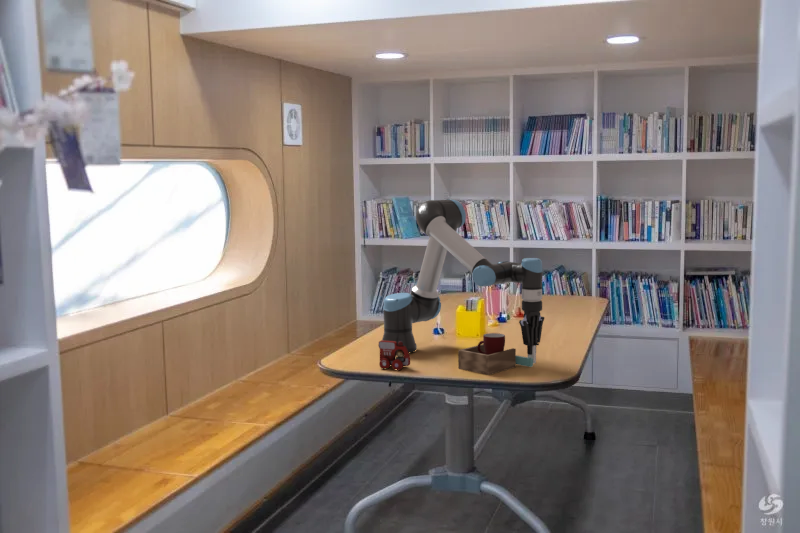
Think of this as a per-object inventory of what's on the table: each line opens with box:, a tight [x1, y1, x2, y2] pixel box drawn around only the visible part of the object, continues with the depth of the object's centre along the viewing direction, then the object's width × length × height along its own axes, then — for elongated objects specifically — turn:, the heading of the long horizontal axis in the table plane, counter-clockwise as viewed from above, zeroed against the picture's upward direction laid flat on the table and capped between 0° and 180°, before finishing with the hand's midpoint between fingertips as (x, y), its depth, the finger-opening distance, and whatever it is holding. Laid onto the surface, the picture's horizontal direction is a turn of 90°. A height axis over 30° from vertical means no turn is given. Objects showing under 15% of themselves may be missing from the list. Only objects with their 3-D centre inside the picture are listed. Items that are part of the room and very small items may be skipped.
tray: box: [516, 354, 534, 368], centre depth 298 cm, size 20×16×3 cm
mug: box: [476, 332, 506, 355], centre depth 299 cm, size 10×8×10 cm
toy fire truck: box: [378, 339, 411, 371], centre depth 300 cm, size 7×12×10 cm, turn 67°
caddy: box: [457, 344, 517, 376], centre depth 298 cm, size 14×16×7 cm
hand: (531, 362), depth 298 cm, fingers closed
